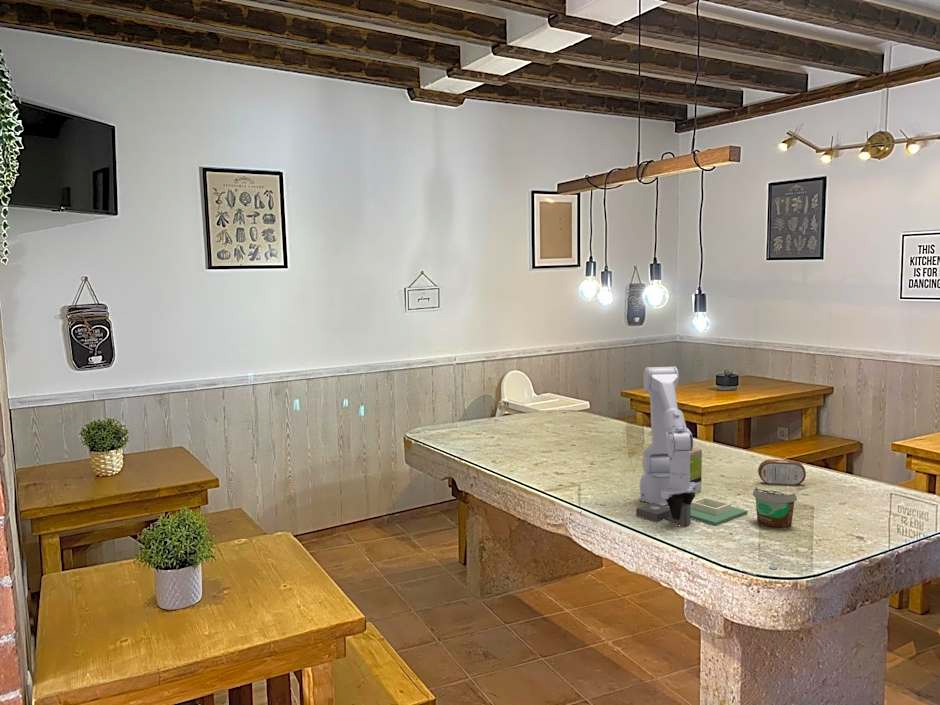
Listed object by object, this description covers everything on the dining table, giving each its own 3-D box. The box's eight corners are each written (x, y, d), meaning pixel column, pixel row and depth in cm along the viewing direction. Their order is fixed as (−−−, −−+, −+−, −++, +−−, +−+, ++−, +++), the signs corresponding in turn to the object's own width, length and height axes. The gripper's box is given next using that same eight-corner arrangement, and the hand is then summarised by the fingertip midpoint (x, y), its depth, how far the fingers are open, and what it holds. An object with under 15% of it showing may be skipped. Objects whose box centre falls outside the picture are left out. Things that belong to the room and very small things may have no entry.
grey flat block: (636, 515, 224) (636, 507, 224) (653, 510, 229) (653, 502, 228) (662, 524, 216) (662, 515, 216) (680, 518, 221) (680, 509, 220)
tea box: (647, 488, 251) (646, 446, 250) (664, 482, 258) (664, 441, 256) (685, 498, 240) (685, 453, 238) (702, 491, 246) (702, 448, 245)
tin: (804, 484, 251) (805, 460, 250) (806, 486, 248) (806, 462, 247) (757, 482, 255) (758, 458, 255) (758, 484, 252) (759, 460, 252)
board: (670, 512, 226) (670, 503, 226) (702, 501, 235) (702, 492, 235) (715, 525, 213) (715, 515, 213) (747, 513, 223) (747, 504, 222)
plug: (669, 522, 217) (669, 502, 216) (675, 520, 219) (675, 500, 218) (685, 527, 212) (685, 507, 212) (691, 525, 214) (692, 505, 214)
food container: (745, 523, 214) (745, 490, 213) (754, 518, 219) (754, 485, 218) (787, 533, 206) (788, 498, 205) (796, 527, 210) (797, 493, 209)
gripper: (675, 479, 207) (675, 526, 208) (706, 470, 215) (706, 515, 217) (655, 474, 212) (655, 520, 214) (686, 466, 221) (686, 510, 222)
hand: (679, 517), depth 216 cm, fingers closed on plug, 3 cm apart
